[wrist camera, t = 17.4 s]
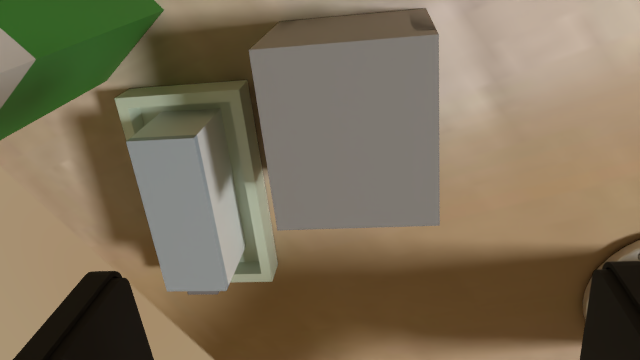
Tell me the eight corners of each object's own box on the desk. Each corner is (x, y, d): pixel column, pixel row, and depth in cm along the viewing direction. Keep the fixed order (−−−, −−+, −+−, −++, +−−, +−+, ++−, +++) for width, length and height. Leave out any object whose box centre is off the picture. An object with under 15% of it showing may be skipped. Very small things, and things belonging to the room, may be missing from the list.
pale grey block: (220, 108, 38) (193, 138, 33) (247, 255, 44) (228, 301, 39) (161, 111, 39) (125, 141, 34) (195, 256, 45) (170, 302, 39)
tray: (247, 80, 38) (238, 89, 36) (277, 264, 45) (272, 281, 43) (129, 88, 39) (114, 98, 37) (176, 266, 46) (166, 283, 44)
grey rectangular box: (425, 8, 35) (438, 34, 26) (428, 162, 39) (439, 225, 31) (279, 21, 36) (248, 49, 28) (299, 168, 41) (277, 230, 33)
